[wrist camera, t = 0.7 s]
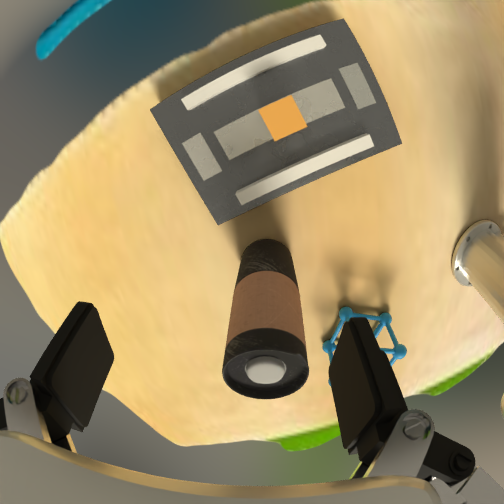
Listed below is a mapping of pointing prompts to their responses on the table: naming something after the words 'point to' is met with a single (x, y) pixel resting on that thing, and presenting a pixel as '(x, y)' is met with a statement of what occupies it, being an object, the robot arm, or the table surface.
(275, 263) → the travel mug
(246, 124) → the switch panel
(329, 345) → the molecular structure
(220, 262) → the table surface
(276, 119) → the switch handle
